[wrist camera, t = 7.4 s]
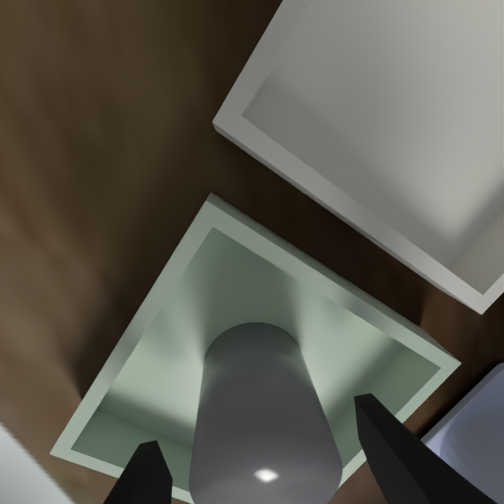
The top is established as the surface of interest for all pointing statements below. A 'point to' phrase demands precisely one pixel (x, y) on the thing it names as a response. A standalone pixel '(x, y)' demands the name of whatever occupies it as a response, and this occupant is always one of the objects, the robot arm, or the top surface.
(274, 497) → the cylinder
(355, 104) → the bin
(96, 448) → the bin
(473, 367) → the top surface
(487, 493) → the robot arm
